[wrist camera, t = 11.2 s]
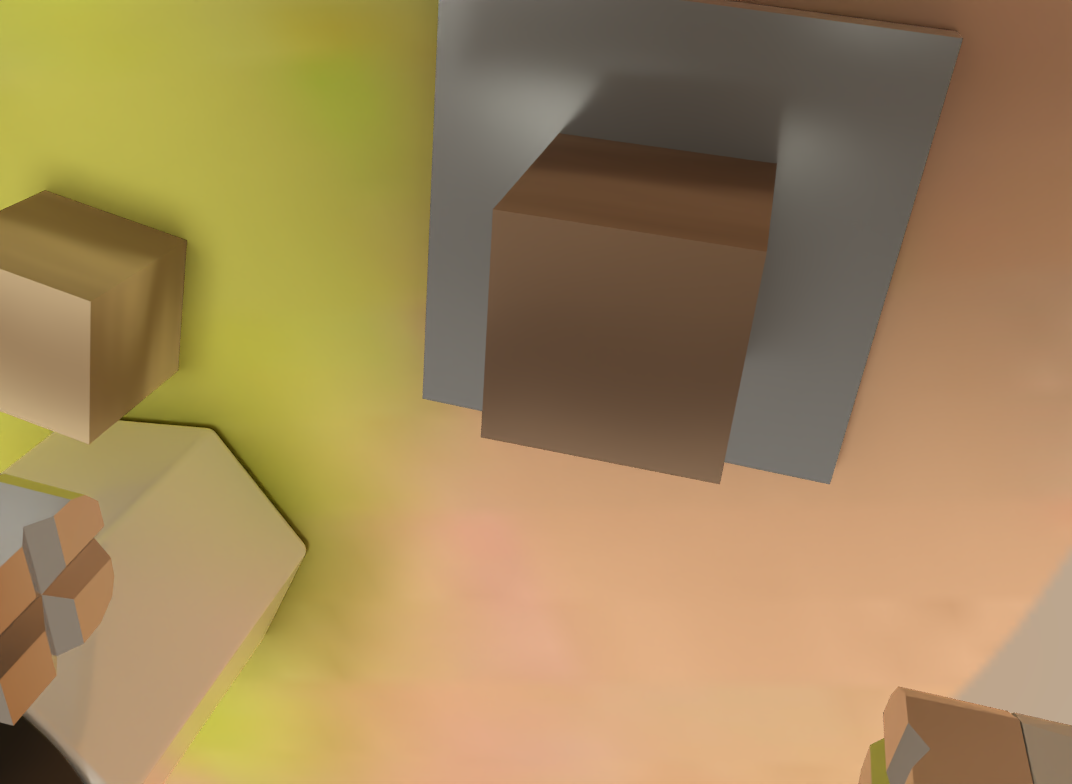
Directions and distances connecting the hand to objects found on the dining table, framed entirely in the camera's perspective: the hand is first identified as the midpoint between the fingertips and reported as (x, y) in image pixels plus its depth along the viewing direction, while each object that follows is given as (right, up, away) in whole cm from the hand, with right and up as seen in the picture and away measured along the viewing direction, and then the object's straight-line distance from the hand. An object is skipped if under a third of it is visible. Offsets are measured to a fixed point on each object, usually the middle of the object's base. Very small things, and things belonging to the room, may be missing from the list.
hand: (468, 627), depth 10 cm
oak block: (-11, +5, +16) cm, 20 cm away
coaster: (+3, +6, +12) cm, 14 cm away
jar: (-10, -2, +20) cm, 23 cm away
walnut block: (+3, +5, +11) cm, 13 cm away
